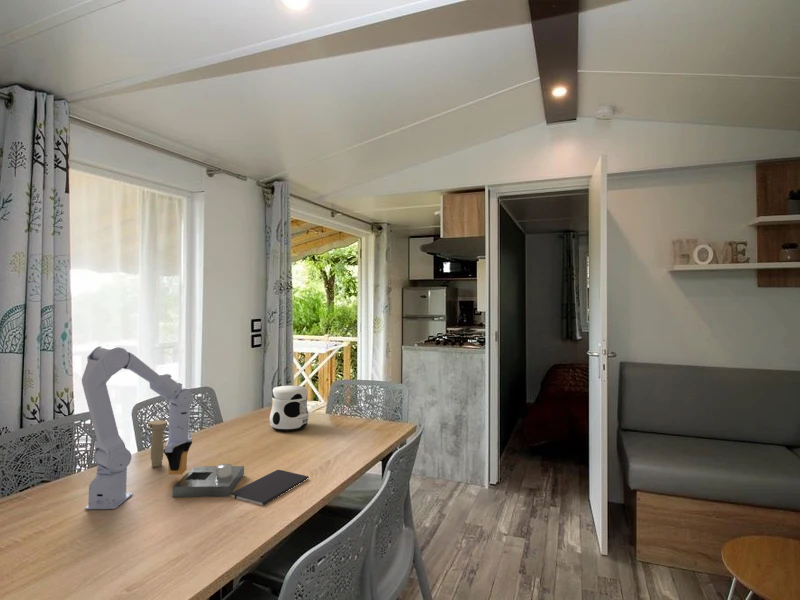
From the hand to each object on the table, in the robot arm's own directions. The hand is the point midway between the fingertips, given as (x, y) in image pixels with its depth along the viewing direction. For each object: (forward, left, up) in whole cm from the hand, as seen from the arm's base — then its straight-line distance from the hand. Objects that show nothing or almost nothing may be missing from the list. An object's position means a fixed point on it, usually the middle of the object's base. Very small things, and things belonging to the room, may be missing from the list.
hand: (177, 467), depth 141 cm
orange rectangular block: (0, 0, -1) cm, 1 cm away
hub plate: (-5, -12, -4) cm, 14 cm away
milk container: (+58, -25, -4) cm, 63 cm away
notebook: (-7, -31, -5) cm, 32 cm away
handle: (+12, +12, -4) cm, 17 cm away
